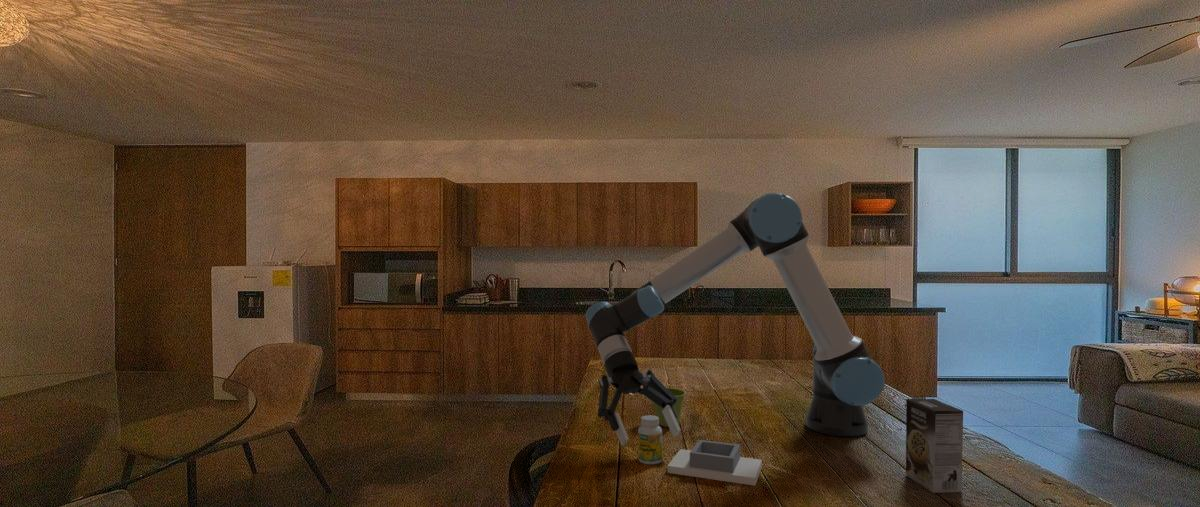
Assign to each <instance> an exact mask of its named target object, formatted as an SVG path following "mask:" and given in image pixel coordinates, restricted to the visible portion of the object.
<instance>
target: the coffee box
mask: <svg viewBox="0 0 1200 507" xmlns="http://www.w3.org/2000/svg"><path fill="white" fill-rule="evenodd" d="M905 400H906V403H905V405H906V406H905V410H906V411H905V412H906V413H905V417H906V418H905V420H906V422H905V425H906V426H905V427H906V428H905V433H906V434H905V444H906V445H905V476H906V477H908V478H910V479H911V480H913V481H914V482H915V483H917V484H919V485H921V487H923V488H925V489H926V490H928V491H929V492H930V493H933V494H934V493H937V494H938V493H939V494H941V493H942V494H943V493H962V491H963V490H962V484H963V482H962V481H963V477H962V476H963V445H964V444H963V441H964V438H963V437H964V432H963V431H964V410H962V409H960V408H957V407H954V406H953V405H949V404H947V403H946V402H943V401H941V400H938V399H936V398H906V399H905Z"/></svg>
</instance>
